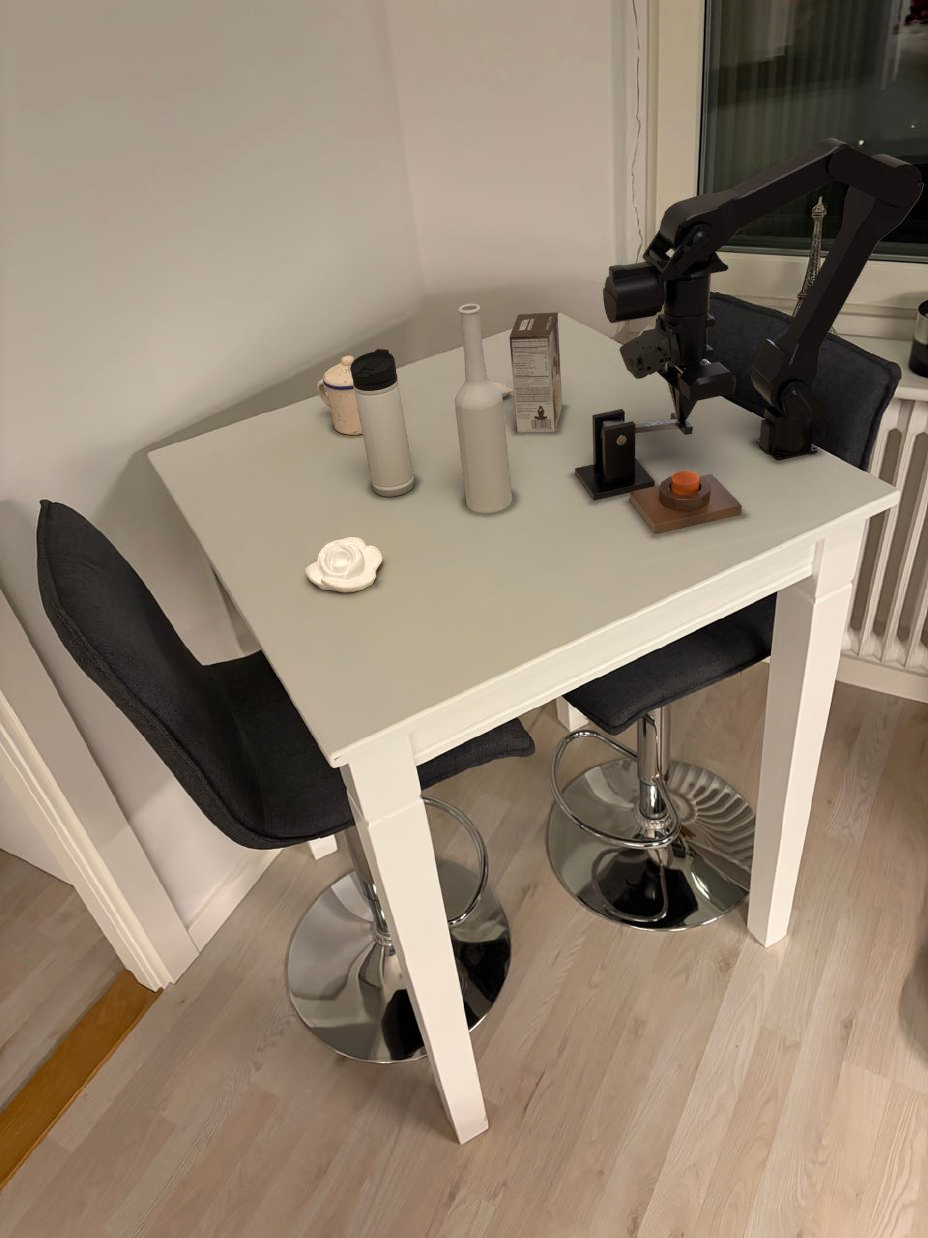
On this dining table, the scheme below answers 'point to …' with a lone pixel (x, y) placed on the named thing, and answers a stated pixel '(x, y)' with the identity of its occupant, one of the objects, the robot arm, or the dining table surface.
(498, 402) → the bottle
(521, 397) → the coffee box
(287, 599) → the dining table surface
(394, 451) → the travel mug
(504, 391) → the macaroon
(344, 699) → the dining table surface
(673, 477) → the button
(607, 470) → the lever bracket
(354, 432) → the teacup with lid
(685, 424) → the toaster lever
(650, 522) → the button block
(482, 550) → the dining table surface
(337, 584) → the rose
